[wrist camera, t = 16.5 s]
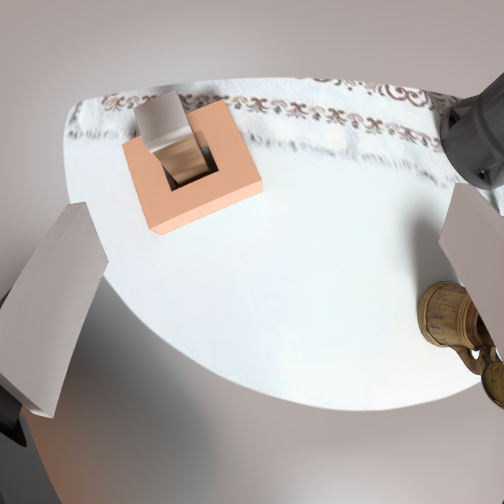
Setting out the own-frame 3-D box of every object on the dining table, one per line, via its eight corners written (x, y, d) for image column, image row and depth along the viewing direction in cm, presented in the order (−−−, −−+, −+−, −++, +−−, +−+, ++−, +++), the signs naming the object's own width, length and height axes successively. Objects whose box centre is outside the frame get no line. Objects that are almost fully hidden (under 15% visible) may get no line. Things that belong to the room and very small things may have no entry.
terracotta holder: (227, 117, 42) (223, 98, 37) (261, 191, 41) (261, 179, 36) (135, 158, 42) (121, 144, 37) (162, 235, 41) (149, 229, 36)
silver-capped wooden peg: (204, 154, 42) (175, 89, 26) (215, 181, 41) (188, 124, 25) (175, 166, 42) (133, 108, 26) (185, 193, 41) (143, 144, 25)
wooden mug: (410, 378, 38) (484, 424, 20) (419, 280, 39) (504, 277, 21) (460, 372, 38) (539, 405, 20) (468, 281, 39) (556, 277, 21)
